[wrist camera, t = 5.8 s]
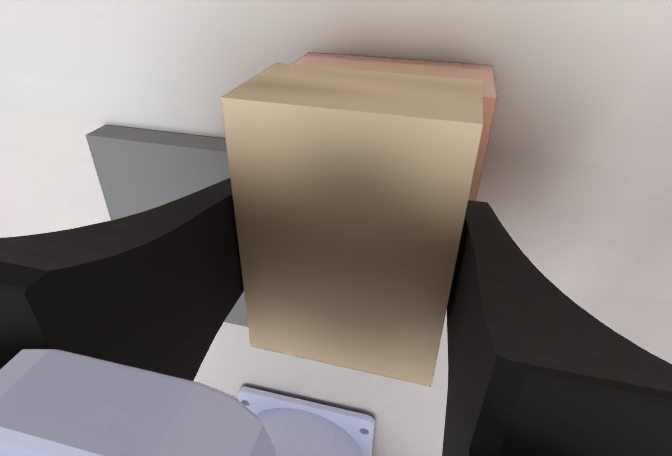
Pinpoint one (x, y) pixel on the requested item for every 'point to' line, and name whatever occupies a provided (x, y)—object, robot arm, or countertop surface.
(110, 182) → the mat
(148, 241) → the robot arm
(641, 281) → the countertop surface
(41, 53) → the countertop surface
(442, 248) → the tan rectangular block
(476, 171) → the pink square tray
